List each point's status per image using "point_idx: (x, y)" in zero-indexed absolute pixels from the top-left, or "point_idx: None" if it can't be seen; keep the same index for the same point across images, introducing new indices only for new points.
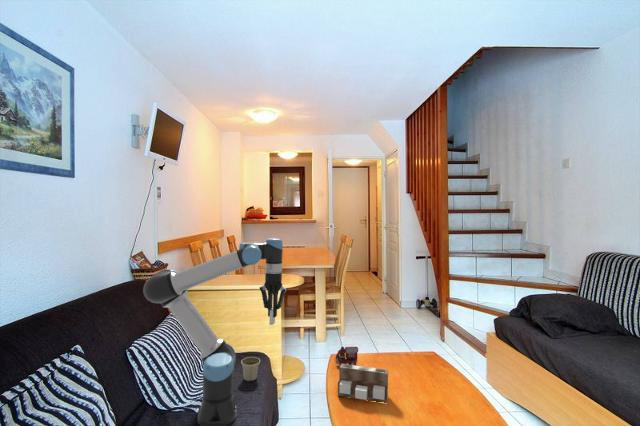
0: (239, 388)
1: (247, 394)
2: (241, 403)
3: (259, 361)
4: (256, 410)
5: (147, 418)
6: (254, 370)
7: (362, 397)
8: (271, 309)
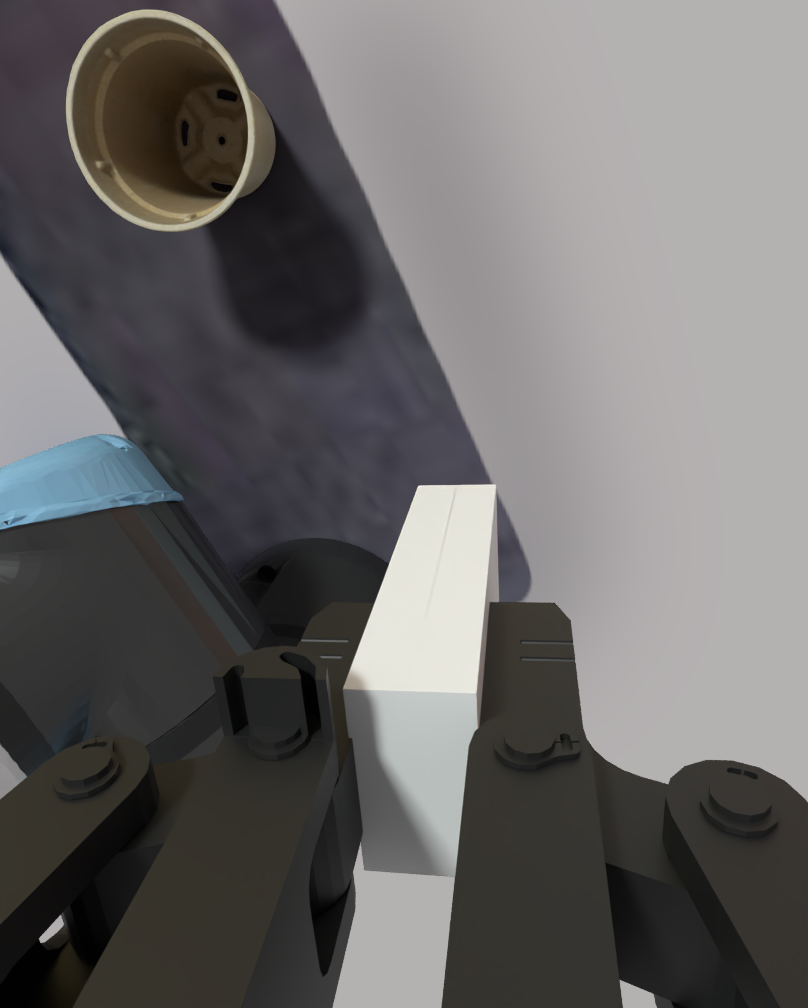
0: (248, 323)
1: (347, 375)
2: (371, 482)
3: (241, 93)
4: (500, 519)
5: None
6: (251, 169)
7: None
8: (372, 788)
